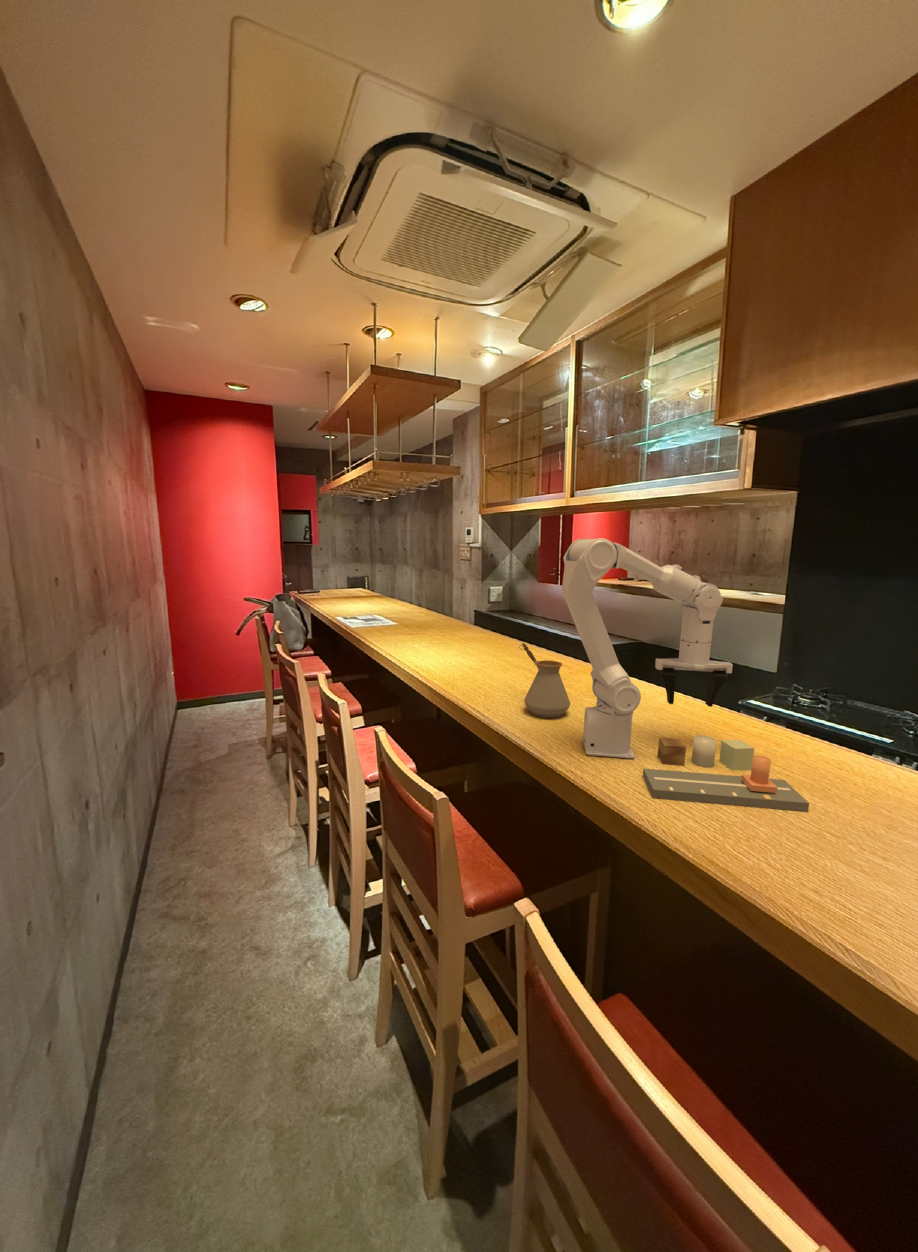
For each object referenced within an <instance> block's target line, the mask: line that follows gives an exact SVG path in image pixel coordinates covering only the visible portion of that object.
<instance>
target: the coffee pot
mask: <svg viewBox="0 0 918 1252" xmlns="http://www.w3.org/2000/svg"><path fill="white" fill-rule="evenodd" d="M521 646H522V648H520V647H521ZM518 648H519V649H521V650H523V651H526V654H527V656H528V657H529V658H530V660H531V661H532V662H533V663H534V665H535V666H536V667H537V671H536V675H535V677H534V678H533V681H532V683H531V685H530V687H529V689H528V691H527V693H526V695H525V697H524V699H523V700H524V705H525V707H526V708H527V709H528V711H530V712H531V713H532V715H534V716H537V717H539V718H540V717H541V718H548V719H550V718H551V719H552V718H553V719H554V718H560V717H561V716H563V714H564V713H566V712H567V711H568V710H569V709H570V707H571V701H570V699H569V696H568V693H567V691H566V688H565V685H564V682H563V679H562V677H561V675H560V669H561V667H562V666H563V663H562V662H560V661H555V660H537V659H536V657H535V656H534V654H533V653H532V651H531V650H530V649H529V647H528V645H527V644H526V643H524V642H522V643H521V644H520V645H519V646H518Z"/></svg>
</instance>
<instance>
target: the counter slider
mask: <svg viewBox="0 0 918 1252" xmlns="http://www.w3.org/2000/svg"><path fill="white" fill-rule="evenodd" d="M771 762H772V759H770V758H769V757H767V756H764V755H757V754H756V755H755V754H754V756H753V761H752V769H751V770H750V774H741V775H740V776H741V780H742V781H743V782H744V784H745V785H746V786H747V787H748V788H749V789H750V790H751V791H759V792H770V793H777V786H776V785H775V784H774V783H773V782H772V781H771V780H770V779H771V778H770V771H771Z"/></svg>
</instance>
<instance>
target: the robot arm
mask: <svg viewBox="0 0 918 1252" xmlns="http://www.w3.org/2000/svg"><path fill="white" fill-rule="evenodd" d="M563 563H564V570H563V576H562V577H563V578H562V585H561V586H562V587H561V591H562V595H563V597H564V599H565V603H566V605H567V608H568V610H569V613H570V614H571V617H572V620H573V622H574V626H575V628H576V630H577V632H578V635H579V637H580V640H581V643H582V646H583V648H584V651H585V652H586V655H587V657H588V661H589V663H590V665H591V668H592V670H591V671H590V677H591V679H592V685H591V690H592V694H593V695H594V696H595V697H596V704H595V706H587V707H585V710H584V715H583V716H584V718H583V720H584V721H583V733H582V743H583V747H584V751H585V754H586V755H588V756H595V757H596V756H597V757H606V758H607V757H609V758H620V759H621V758H623V759H635V757H636V755H635V754H634V752H633V749H632V748H631V747H632V746H631V737H632V727H633V726H632V725H633V715H634V711H635V710H637V709H638V707H639V705H640V703H641V700H642V696H641V691H640V689H639V688H638V687H637V686H636V684H634V683H633V682H632V681H631V679H630V676H629V675H628V673H627V672H626V671H625V669H624V668H623V667H622V665H621V664H620V662H619V660H618V657H617V655H616V652H615V649H614V647H613V643H612V641H611V639H610V635H609V634H608V631H607V628H606V626H605V623H604V621H603V617H602V615H601V612H600V610H599V607H598V605H597V602H596V599H595V597H594V594H593V592H594V590H595V588H596V586H597V584H598V582H599V581H600V580H601V579H602V578H604V576H605V575H606V574H607V573H608V572H609V571H611V569H623V570H624V571H627V572H629V573H631V574H634V575H636V576H638V577H641V578H643V579H645V580H647V581H649V582H651V585H652V588H653V590H654V591H655V592H657V593H659V594H661V595H663V596H665V597H668V598H669V599H672V600H673V601H675V602H678V603H679V605H680V607H682V608H683V610H682V621H681V630H680V631H681V632H680V642H679V651H678V653H679V654H678V657H677V658H676V657H674V658H655V666H654V667H655V669H656V670H657V671H659V673H660V675H661V679H662V681H663V684H664V688H665V692H666V699H667V700H666V702H667V703H668V704H669V705H674V701H675V689H676V684H677V679H678V675H677V674H676V671H693V672H694V671H695V672H706V692H705V697H704V698H705V699H704V700H705V702H704V703H705V704H706V705H705V706H707V707H710V708H712V707H713V705H714V702H715V699H716V697H717V695H718V694H719V691H720V690H721V689H722V687H723V686H724V684H725V683H727V681H728V678H729V676H728V674H732V673H733V663H731V662H729V661H719V660H712V659H711V660H710V657H711V646H712V639H713V638H712V636H713V628H714V619H715V618H716V615H717V611H718V610H719V608H720V607H721V606H722V605H723V602H724V597H722V594H721V591H720V589H719V588H718V586H717V585H715V583H708V582H703V581H702V580H701V577H700V576H699V575H691V574H689V573H687V572H685V571H683V570H682V569H683V567H682V566H681V565H679V564H672V565H671V564H665V565H663V566H659V565H657V564H655V563H654V562H652V561H650V560H649V559H648V558H645V557H643V556H641V555H639V554H638V553H636V552H635V551H632V550H631V549H629V548H627V547H626V546H624V545H622V544H620V543H618V542H612V541H610V540H609V539H607V538H603V537H601V538H600V537H599V538H594V539H590V538H578V539H576V540H574V541H573V542H572V543H571V544H570V546H569V547H568V549H567V551H565V554H564V556H563ZM675 670H676V671H675Z"/></svg>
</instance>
